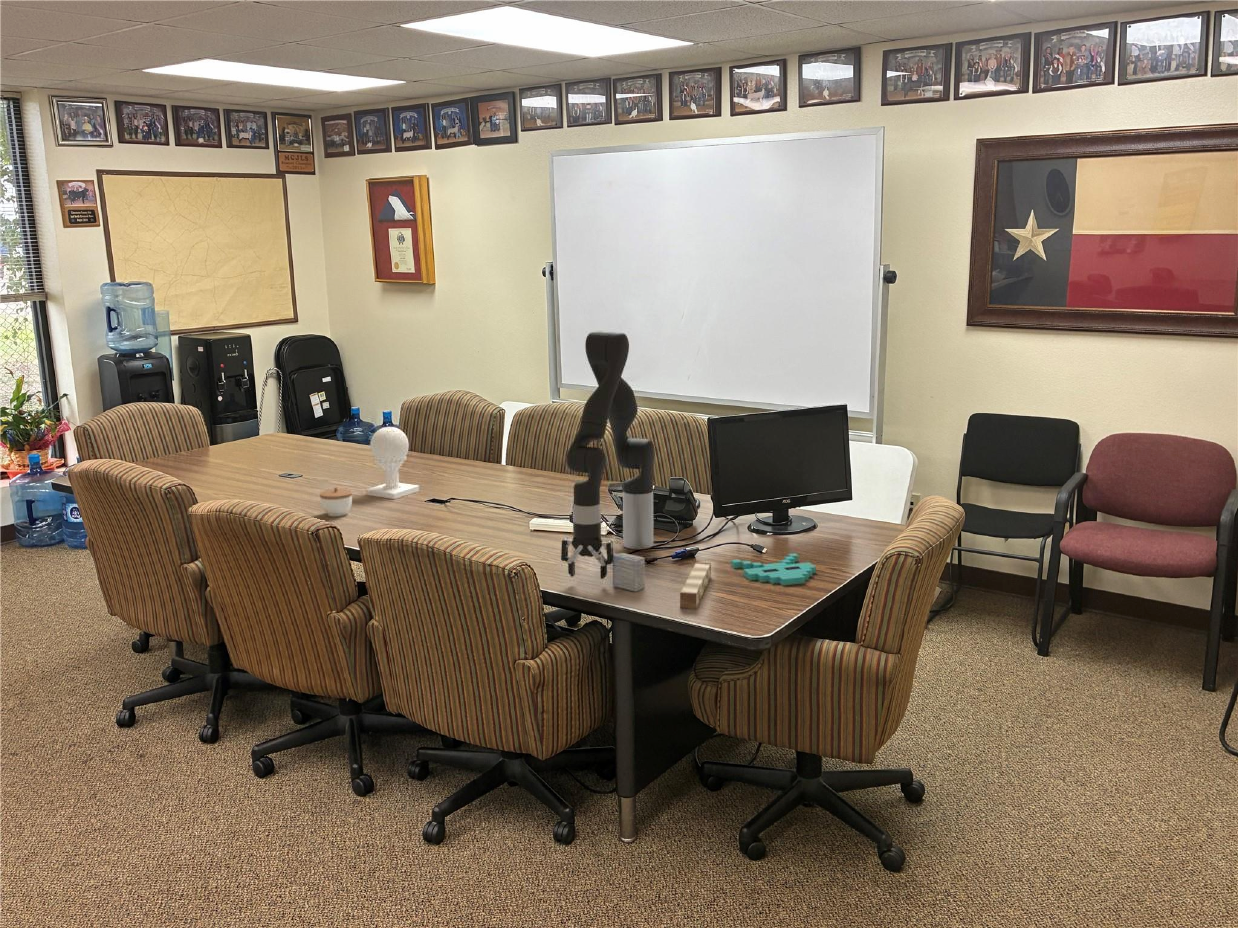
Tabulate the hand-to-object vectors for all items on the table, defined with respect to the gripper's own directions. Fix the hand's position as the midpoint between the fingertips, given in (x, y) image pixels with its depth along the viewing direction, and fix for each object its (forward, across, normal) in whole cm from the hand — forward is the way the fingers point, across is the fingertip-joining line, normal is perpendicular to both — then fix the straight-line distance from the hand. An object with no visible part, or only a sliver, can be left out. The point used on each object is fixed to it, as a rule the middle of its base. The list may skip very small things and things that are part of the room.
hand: (587, 576), depth 285 cm
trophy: (+2, +99, -84) cm, 130 cm away
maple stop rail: (+2, -30, -1) cm, 30 cm away
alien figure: (+2, -50, -21) cm, 54 cm away
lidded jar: (+3, +104, -52) cm, 117 cm away
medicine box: (+2, -11, 0) cm, 12 cm away
